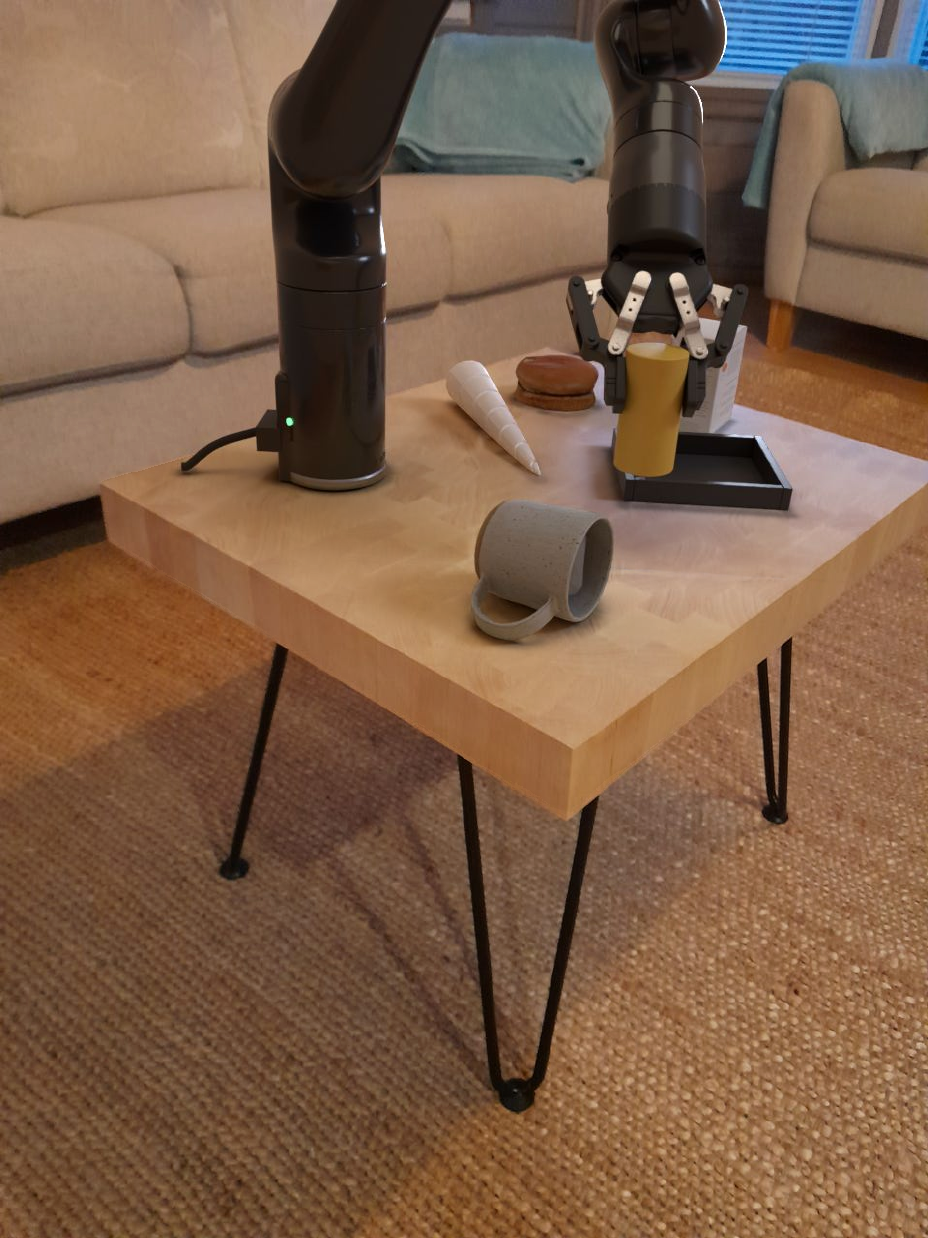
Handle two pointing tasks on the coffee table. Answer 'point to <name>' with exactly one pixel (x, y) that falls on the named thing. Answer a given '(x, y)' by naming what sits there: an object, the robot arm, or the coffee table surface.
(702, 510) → the coffee table surface
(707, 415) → the small box
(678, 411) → the yellow cylinder
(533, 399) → the burger
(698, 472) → the tray
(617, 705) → the coffee table surface
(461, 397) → the unicorn horn
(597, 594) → the ceramic mug
